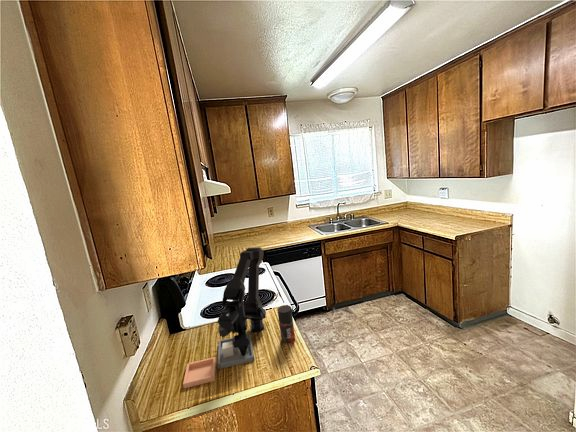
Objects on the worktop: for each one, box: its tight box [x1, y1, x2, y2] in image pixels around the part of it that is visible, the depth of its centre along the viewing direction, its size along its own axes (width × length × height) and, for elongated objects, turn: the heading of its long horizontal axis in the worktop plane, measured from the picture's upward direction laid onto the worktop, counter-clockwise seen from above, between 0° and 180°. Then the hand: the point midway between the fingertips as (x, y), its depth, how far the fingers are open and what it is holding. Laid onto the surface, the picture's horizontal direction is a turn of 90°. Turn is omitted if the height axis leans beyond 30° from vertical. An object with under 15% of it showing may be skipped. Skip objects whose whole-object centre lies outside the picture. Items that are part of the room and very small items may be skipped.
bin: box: [217, 332, 255, 370], centre depth 113 cm, size 16×14×2 cm
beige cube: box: [222, 341, 234, 358], centre depth 112 cm, size 4×4×4 cm
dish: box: [182, 356, 217, 389], centre depth 103 cm, size 11×11×2 cm
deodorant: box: [277, 304, 296, 345], centre depth 116 cm, size 6×6×15 cm
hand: (243, 348), depth 114 cm, fingers open, 9 cm apart
